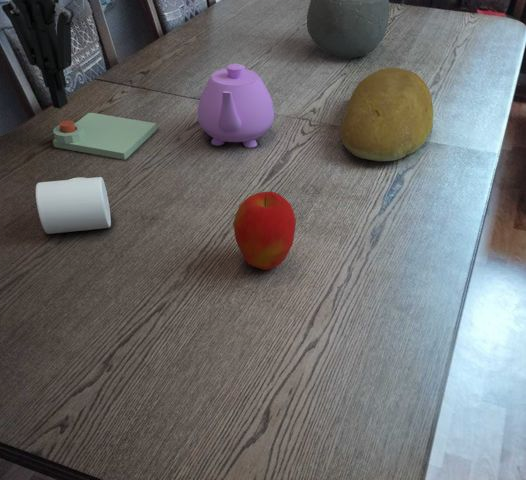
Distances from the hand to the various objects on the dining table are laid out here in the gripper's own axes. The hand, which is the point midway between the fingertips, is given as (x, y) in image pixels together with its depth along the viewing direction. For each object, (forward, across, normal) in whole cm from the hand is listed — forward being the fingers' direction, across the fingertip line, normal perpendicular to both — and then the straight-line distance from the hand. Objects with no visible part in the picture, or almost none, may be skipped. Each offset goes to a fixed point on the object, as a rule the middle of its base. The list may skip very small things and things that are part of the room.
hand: (60, 105), depth 106 cm
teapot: (+8, -31, -14) cm, 35 cm away
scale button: (+5, 0, 0) cm, 5 cm away
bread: (+7, -60, -28) cm, 66 cm away
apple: (+7, -50, +24) cm, 56 cm away
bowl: (+7, -41, -71) cm, 82 cm away
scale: (+8, -6, -5) cm, 11 cm away
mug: (+8, -17, +23) cm, 30 cm away
